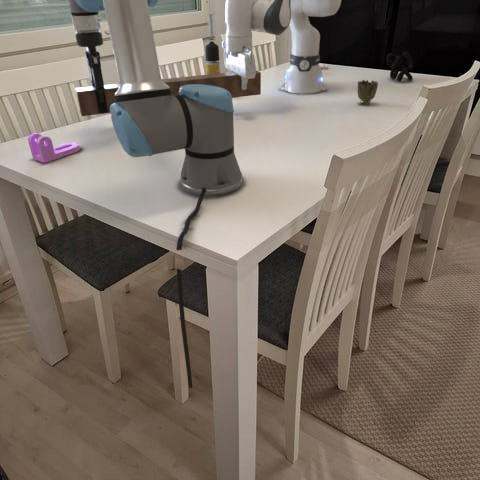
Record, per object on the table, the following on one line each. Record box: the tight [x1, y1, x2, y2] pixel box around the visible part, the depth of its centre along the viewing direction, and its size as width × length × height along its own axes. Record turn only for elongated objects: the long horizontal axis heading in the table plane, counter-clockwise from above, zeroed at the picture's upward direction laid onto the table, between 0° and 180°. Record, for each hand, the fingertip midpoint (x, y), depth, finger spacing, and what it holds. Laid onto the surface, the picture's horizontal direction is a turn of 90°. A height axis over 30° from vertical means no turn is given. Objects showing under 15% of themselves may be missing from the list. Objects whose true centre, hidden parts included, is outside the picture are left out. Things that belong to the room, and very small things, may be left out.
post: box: [74, 70, 262, 117], centre depth 149 cm, size 62×5×8 cm, turn 112°
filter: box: [204, 13, 221, 75], centre depth 175 cm, size 6×6×30 cm
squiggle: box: [385, 51, 414, 83], centre depth 198 cm, size 11×10×15 cm
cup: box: [357, 79, 379, 106], centre depth 166 cm, size 8×7×8 cm
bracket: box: [27, 132, 81, 164], centre depth 127 cm, size 13×6×7 cm, turn 143°
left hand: (102, 109), depth 144 cm, fingers closed on post, 5 cm apart
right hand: (239, 87), depth 157 cm, fingers closed on post, 5 cm apart
